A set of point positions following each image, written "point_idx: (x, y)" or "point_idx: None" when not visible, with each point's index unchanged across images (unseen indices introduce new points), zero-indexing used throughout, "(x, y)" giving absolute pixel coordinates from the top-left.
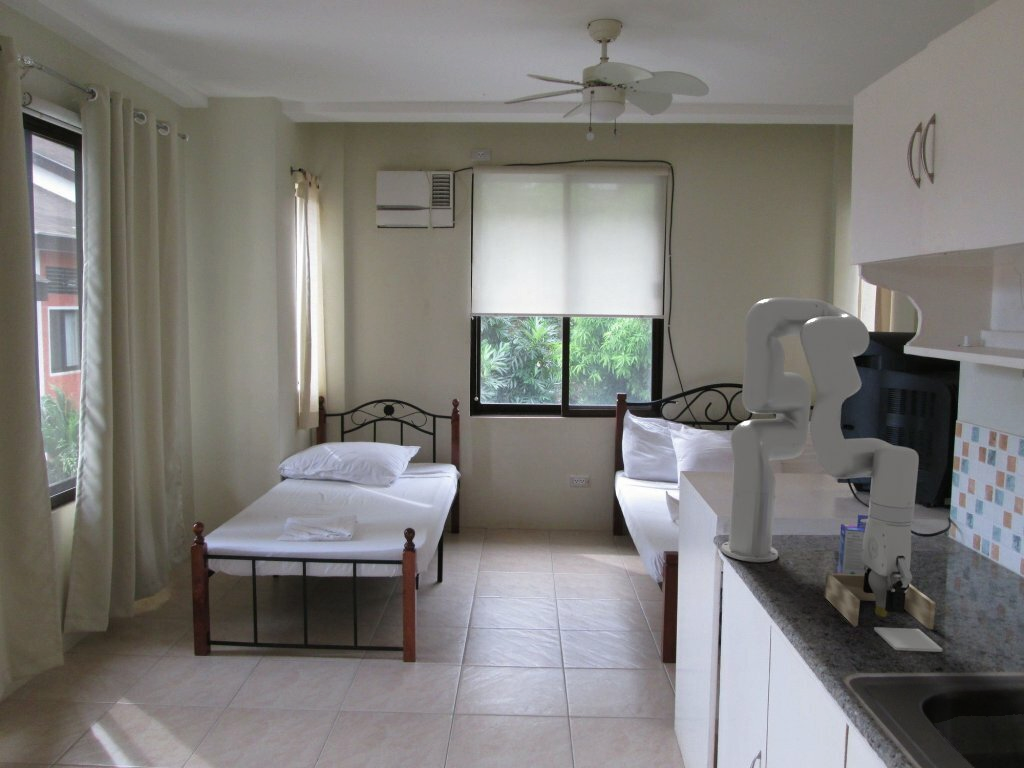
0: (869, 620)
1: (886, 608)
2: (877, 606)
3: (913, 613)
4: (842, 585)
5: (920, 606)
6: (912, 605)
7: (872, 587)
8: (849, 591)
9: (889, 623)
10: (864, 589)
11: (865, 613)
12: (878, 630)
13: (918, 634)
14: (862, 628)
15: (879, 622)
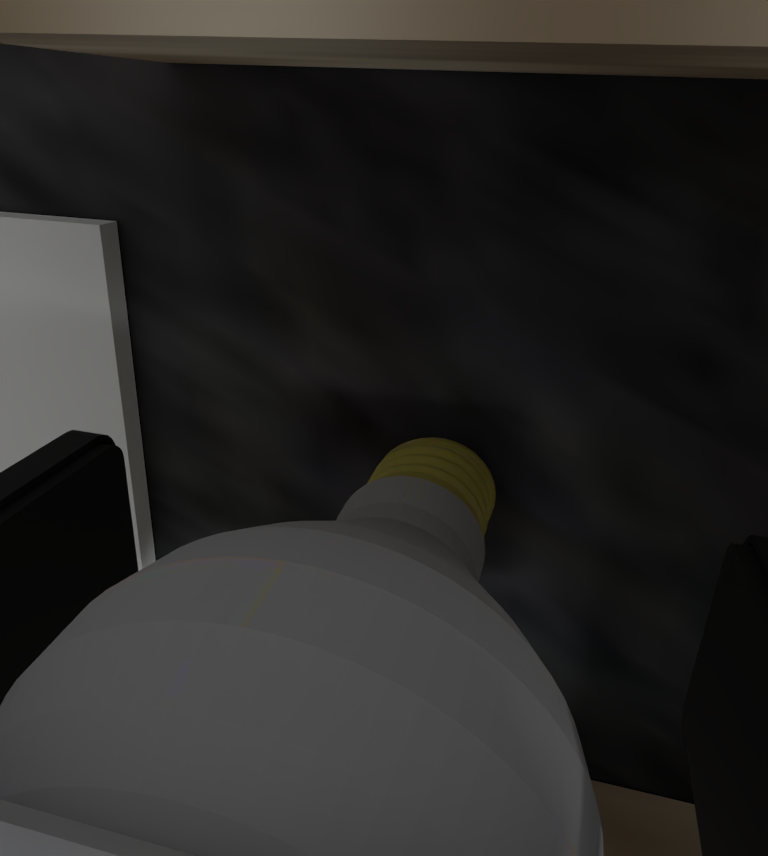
0: (349, 303)
1: (53, 440)
2: (393, 476)
3: None
4: (696, 10)
5: None
6: None
7: (286, 526)
8: (313, 23)
9: (294, 465)
10: (760, 554)
11: (539, 364)
12: (28, 225)
13: None
14: (133, 104)
15: (308, 382)
